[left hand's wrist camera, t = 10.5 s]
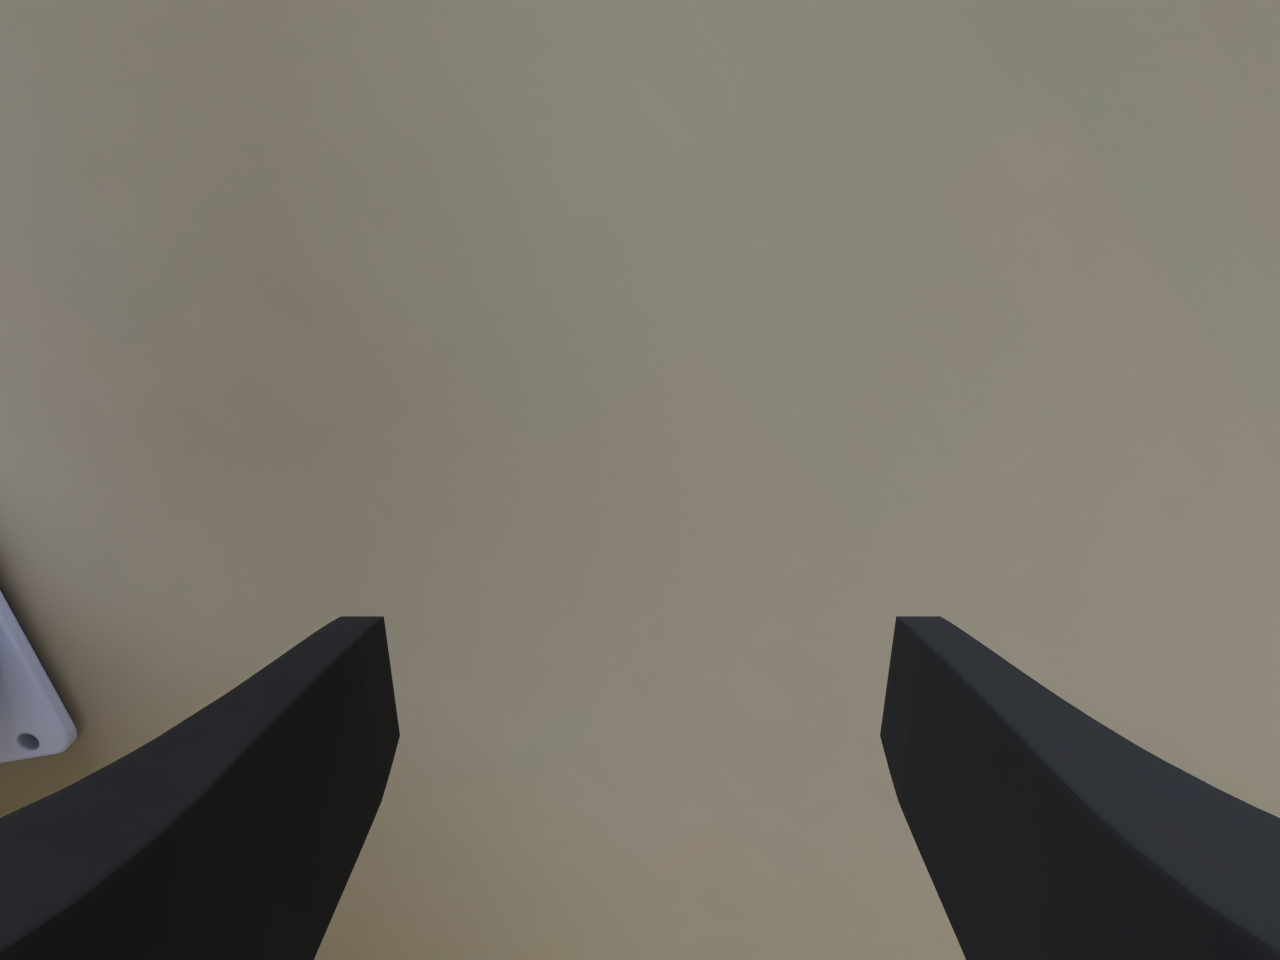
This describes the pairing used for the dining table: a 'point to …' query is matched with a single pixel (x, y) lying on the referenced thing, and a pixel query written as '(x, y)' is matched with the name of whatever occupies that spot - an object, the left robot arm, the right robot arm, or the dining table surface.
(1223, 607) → the dining table surface
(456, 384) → the dining table surface
